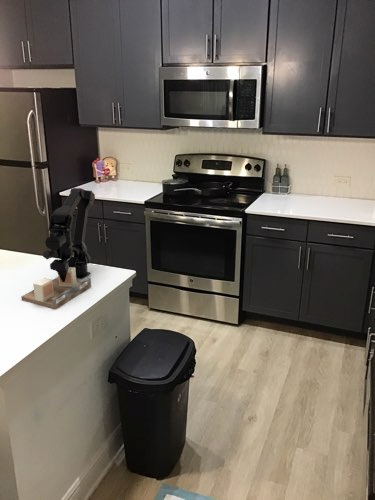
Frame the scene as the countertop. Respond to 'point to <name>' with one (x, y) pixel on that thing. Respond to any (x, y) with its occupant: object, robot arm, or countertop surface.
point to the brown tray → (60, 293)
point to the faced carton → (43, 289)
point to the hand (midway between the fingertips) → (67, 277)
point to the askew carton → (69, 278)
